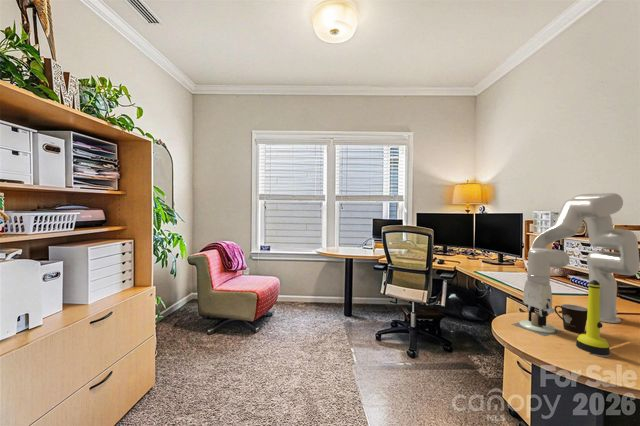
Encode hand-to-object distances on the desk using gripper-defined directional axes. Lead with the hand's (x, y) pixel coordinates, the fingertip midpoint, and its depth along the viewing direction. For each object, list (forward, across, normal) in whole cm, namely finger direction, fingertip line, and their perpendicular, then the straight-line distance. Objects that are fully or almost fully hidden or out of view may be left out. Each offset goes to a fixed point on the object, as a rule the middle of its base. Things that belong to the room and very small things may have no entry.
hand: (537, 322), depth 124 cm
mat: (+3, 0, 0) cm, 3 cm away
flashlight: (+3, +19, +4) cm, 20 cm away
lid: (+2, 0, 0) cm, 2 cm away
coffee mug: (+3, +2, +14) cm, 15 cm away
